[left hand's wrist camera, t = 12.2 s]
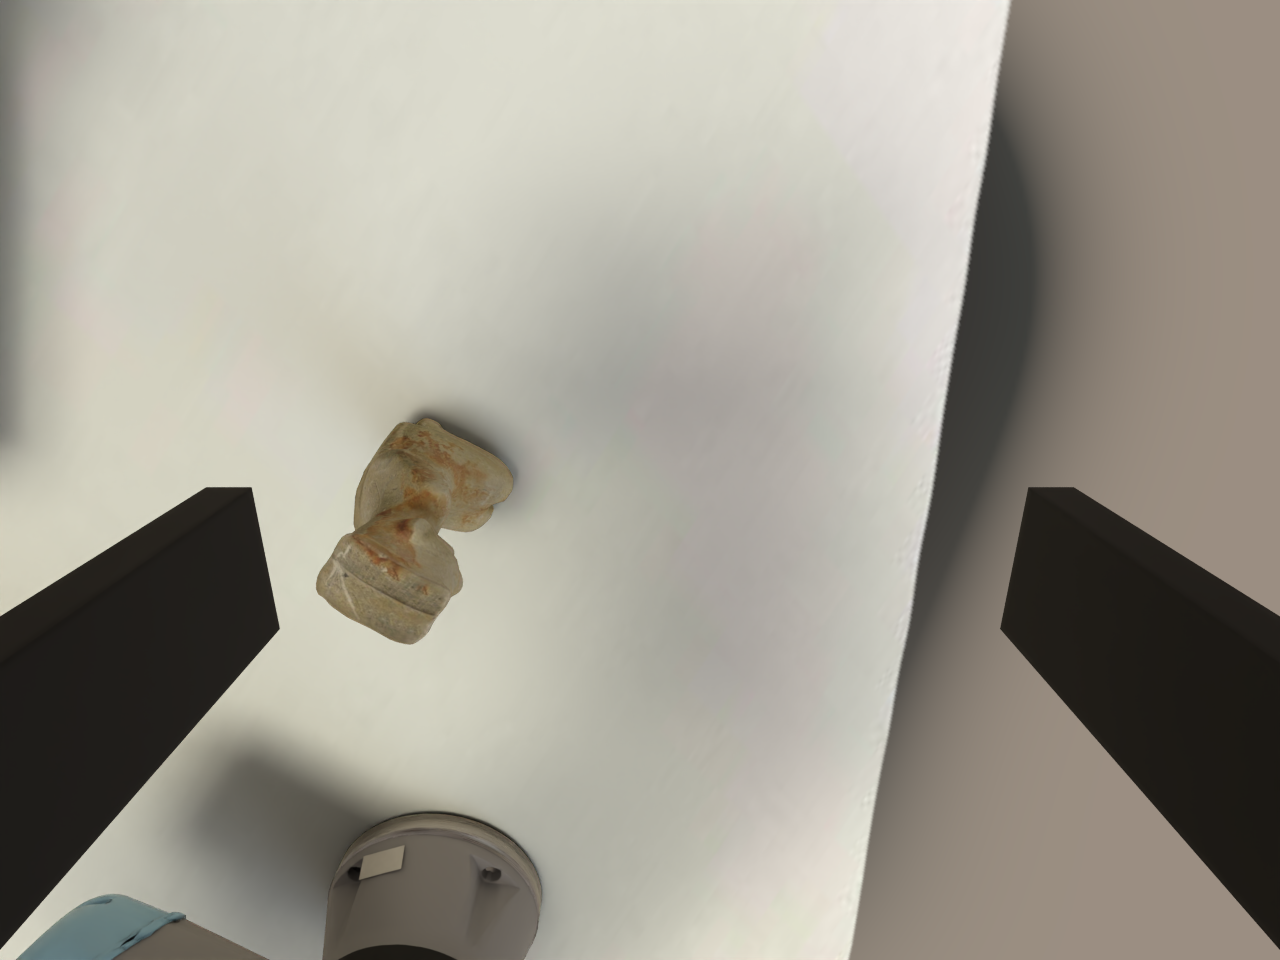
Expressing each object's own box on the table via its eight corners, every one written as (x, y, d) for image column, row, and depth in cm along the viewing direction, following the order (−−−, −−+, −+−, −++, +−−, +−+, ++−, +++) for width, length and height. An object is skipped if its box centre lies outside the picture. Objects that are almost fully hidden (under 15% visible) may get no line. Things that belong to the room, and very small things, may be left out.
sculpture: (473, 534, 44) (394, 685, 30) (373, 461, 42) (240, 584, 28) (531, 465, 42) (477, 589, 28) (430, 387, 41) (319, 478, 27)
